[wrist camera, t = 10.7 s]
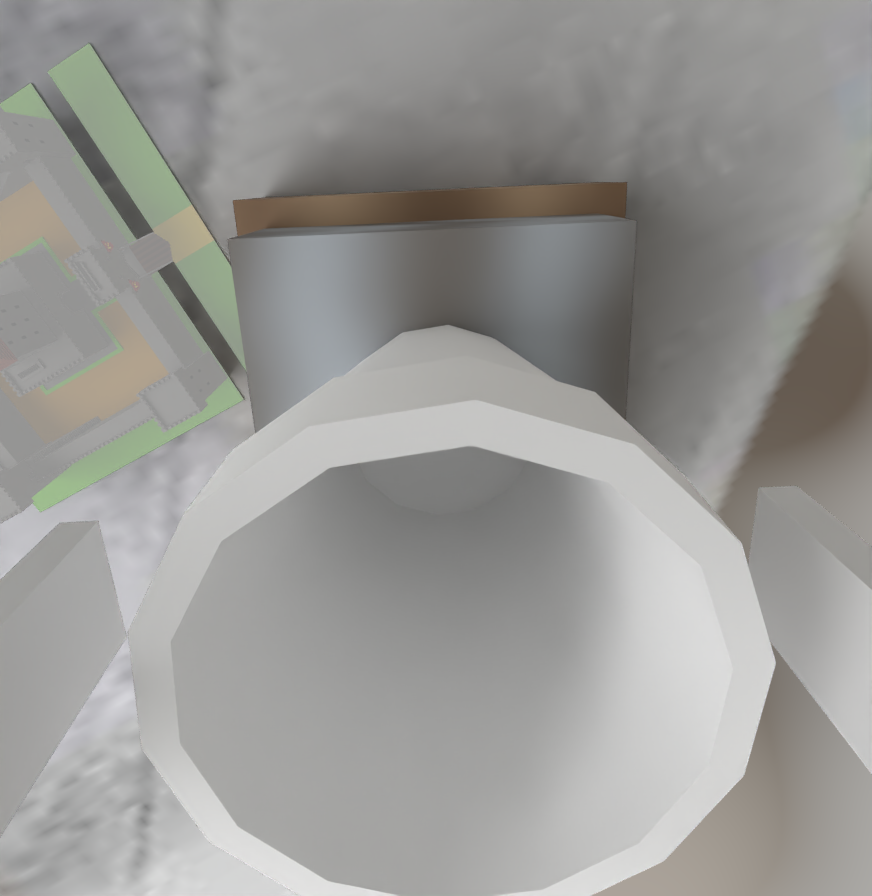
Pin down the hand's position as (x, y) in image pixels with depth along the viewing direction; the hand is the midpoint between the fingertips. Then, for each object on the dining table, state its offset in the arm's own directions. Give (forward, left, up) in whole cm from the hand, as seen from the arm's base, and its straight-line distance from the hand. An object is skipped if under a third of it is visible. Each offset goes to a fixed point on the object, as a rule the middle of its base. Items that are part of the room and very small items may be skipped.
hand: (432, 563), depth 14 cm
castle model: (-16, +3, -20) cm, 26 cm away
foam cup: (0, 0, -9) cm, 9 cm away
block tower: (0, 0, -19) cm, 19 cm away
